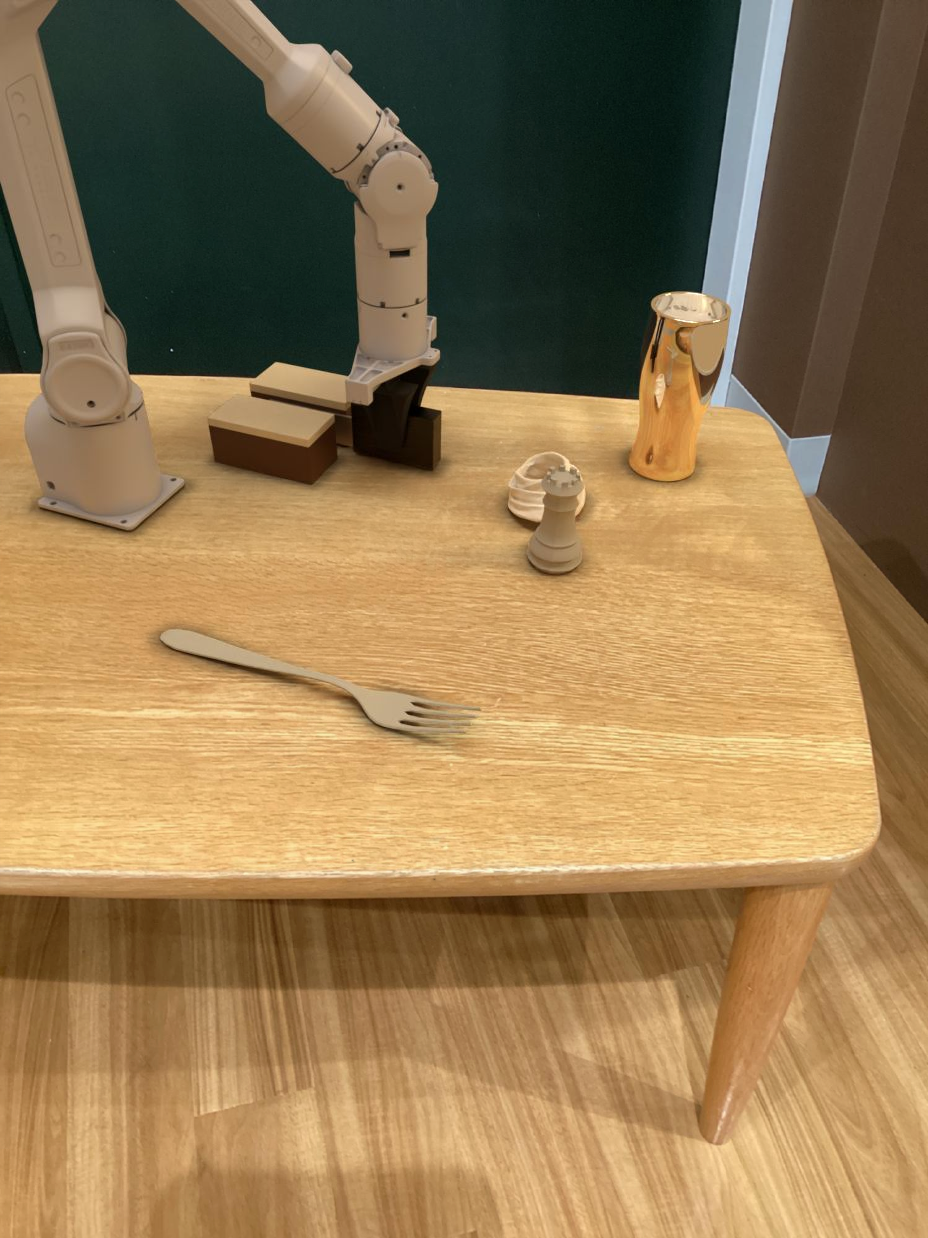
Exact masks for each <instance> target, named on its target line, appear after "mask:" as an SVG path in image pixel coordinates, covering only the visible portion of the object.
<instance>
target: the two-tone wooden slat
mask: <svg viewBox="0 0 928 1238" xmlns="http://www.w3.org/2000/svg"><path fill="white" fill-rule="evenodd" d="M269 401H274V402H279V403H284V404H288V405H293V406H298V407H302V408H307V409H312V410H316V411H321V412H326V413H330V414H334V418H335V430H336V443H339V444H343V445H342V446H344V445H348V446H347V447H352V452H354V453H357V454H361V455H366V456H371V457H375V458H380V459H384V460H388V461H393V462H398V463H402V464H406V465H409V466H414V467H419V468H424V469H428V470H434V469H435V468H436V467H437V465H438V464H439V463H440V462H441V460H442V416H443V415H442V414H443V413H442V410H440V409H437V408H431V407H425V406H422V405H421V406H417V405H412V404H410V407H409V410H408V415H407V422H406V433H405V439H404V444H403V447H402V450H401V451H400V452H394V451H389V450H385V449H380V448H379V446H378V443H377V440H376V437H375V434H374V431H373V428H372V425H371V422H370V419H369V417H368V414H367V412H366V410H365V408H364V406H363V405H362V404H357V403H353V402H351V416H348V415H343V414H339V413H334V412H329V411H325V410H320V409H315V408H311V407H306V406H302V405H297V404H292V403H288V402H283V401H278V400H274V399H269ZM339 444H338V445H339Z"/></svg>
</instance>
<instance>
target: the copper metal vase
mask: <svg viewBox="0 0 928 1238" xmlns="http://www.w3.org/2000/svg"><path fill="white" fill-rule="evenodd" d="M649 307H650V308H649V312H648V315H647V320H646V324H645V328H644V331H643V336H642V342H641V348H640V355H639V363H638V403H639V406H638V409H639V410H638V411H639V419H638V429H637V434H636V438H635V441H634V443H633V445H632V448H631V451H630V453H629V455H628V464H629V466H630V468H631V469H632V470H633V471H634V472H635V473H637V474H638V475H640V476H641V477H643V478H646V479H649V480H653V481H656V482H657V481H658V482H676V481H681V480H685V479H687V478H689V477H690V476H691V475H692V474H693V473H694V472H695V469H696V446H697V437H698V434H699V430H700V427H701V424H702V421H703V419H704V416H705V414H706V412H707V409H708V406H709V405H710V402H711V399H712V397H713V395H714V392H715V390H716V386H717V384H718V381H719V378H720V376H721V372H722V368H723V364H724V359H725V354H726V349H727V344H728V343H727V342H728V336H729V329H730V321H731V320H730V319H731V315H732V308H731V306H730V305H729V304H728V303H727V302H725V301H724V300H723V299H720V298H718V297H716V296H713V295H709V294H706V293H702V292H695V291H683V290H682V291H681V290H680V291H670V292H664V293H661V294H658V295H656V296H654V297H653V298H652V300H651V301H650V306H649Z"/></svg>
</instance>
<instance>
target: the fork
mask: <svg viewBox="0 0 928 1238" xmlns="http://www.w3.org/2000/svg"><path fill="white" fill-rule="evenodd" d="M159 639H160V641H161V642H162V643H163V644H164V645H165V646H166V647H167V646H168V647H169V648H172V649H174V650H177V651H180V652H184V653H188V654H192V655H195V656H200V657H205V658H209V659H213V660H218V661H223V662H226V663H231V664H236V665H239V666H243V667H247V668H253V669H258V670H263V671H268V672H275V673H279V674H284V675H291V676H294V677H295V676H296V677H300V678H305V679H310V680H315V681H319V682H323V683H326V684H330V685H333V686H335V687H338V688H340V689H342V690H343V691H345V692H347V693H348V694H350V695H351V696H352V697H353V698H355V700H356V701H357V702H358V704H359V705H360V706H361V708H362V710H363V711H364V713H365V714H366V716H367V717H368V718H369V719H370V720H371V721H372V722H374V723H375V724H377V725H379V726H381V727H385V728H389V729H391V730H392V729H393V730H402V731H408V732H422V733H435V734H436V733H437V734H461V735H462V734H464V735H466V734H468V730H467V729H458V728H444V727H443V728H442V727H429V726H414V725H409V724H406V723H405V724H404V723H402V722H407V723H409V722H410V723H420V724H433V725H444V726H458V727H459V726H460V727H472V726H473V724H474V723H473V722H470V721H461V720H459V721H456V720H448V719H440V718H439V719H437V718H427V717H419V716H415V715H411V714H408V713H416V714H425V715H433V716H434V715H435V716H443V717H452V718H464V719H477V718H478V717H479V716H478V714H473V713H464V712H455V711H448V710H447V711H446V710H440V709H439V710H437V709H431V708H424V707H420V706H417V705H414V704H420V705H427V706H434V707H441V708H448V709H455V710H462V711H463V710H464V711H474V712H475V711H477V712H482V710H483V709H484V708H483V707H481V706H474V705H465V704H457V703H450V702H443V701H437V700H431V699H427V698H422V697H418V696H414V695H411V694H407V693H406V694H405V693H401V692H396V691H388V690H375V689H369V688H366V687H363V686H360V685H357V684H355V683H353V682H351V681H348V680H346V679H343V678H342V677H341V678H340V677H338V676H334V675H332V674H328V673H325V672H320V671H317V670H313V669H310V668H305V667H302V666H298V665H296V664H292V663H288V662H285V661H282V660H278V659H275V658H272V657H270V656H268V655H264V654H261V653H258V652H255V651H252V650H248V649H246V648H242V647H239V646H236V645H233V644H230V643H228V642H225V641H222V640H219V639H216V638H214V637H210V636H208V635H205V634H201V633H199V632H196V631H193V630H189V629H188V630H187V629H181V628H170V629H167V630H165V631H164V632H162V633H161V634H160V635H159Z"/></svg>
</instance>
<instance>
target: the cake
mask: <svg viewBox="0 0 928 1238" xmlns="http://www.w3.org/2000/svg"><path fill="white" fill-rule="evenodd" d="M206 419H207V424H208V431H209V437H210V443H211V448H212V449H211V450H212V454H213V461H214V462H216V463H220V464H224V465H227V466H232V467H236V468H240V469H244V470H249V471H253V472H257V473H260V474H261V473H262V474H266V475H269V476H274V477H277V478H278V477H279V478H283V479H286V480H291V481H296V482H299V483H304V484H309V485H313V484H314V483H315V482H316V481H318V479H319V478H320V477H321V476H322V475H323V474H324V473H325V472H326V471H327V469H329V468H330V466H332V464H334V462H336V460H337V459H338V447H337V446H338V444H337V443H336V430H335V418H334V414H330V413H326V412H321V411H316V410H312V409H307V408H302V407H298V406H293V405H288V404H284V403H279V402H274V401H269V400H265V399H260V398H255V397H251V395H247V394H241V393H236V394H235V395H233V396H232V397H231V398H229V399H228V400H226V402H224V403H223V404H222V405H221V406H220V407H218V408H217V409H216V410H214V411H213V412H212V413H211V414H210V415H208V416H207V418H206Z"/></svg>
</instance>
